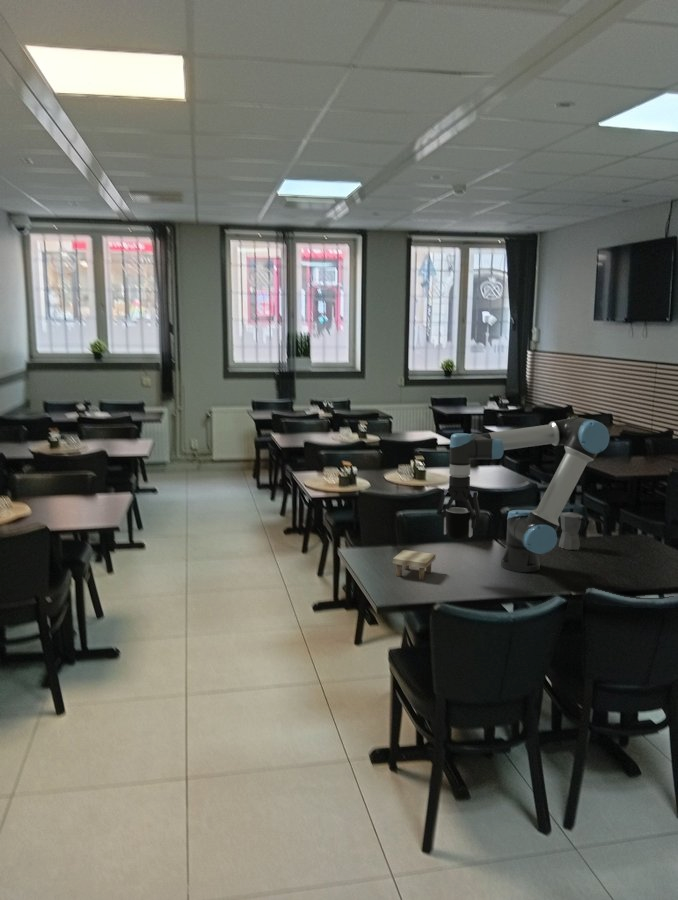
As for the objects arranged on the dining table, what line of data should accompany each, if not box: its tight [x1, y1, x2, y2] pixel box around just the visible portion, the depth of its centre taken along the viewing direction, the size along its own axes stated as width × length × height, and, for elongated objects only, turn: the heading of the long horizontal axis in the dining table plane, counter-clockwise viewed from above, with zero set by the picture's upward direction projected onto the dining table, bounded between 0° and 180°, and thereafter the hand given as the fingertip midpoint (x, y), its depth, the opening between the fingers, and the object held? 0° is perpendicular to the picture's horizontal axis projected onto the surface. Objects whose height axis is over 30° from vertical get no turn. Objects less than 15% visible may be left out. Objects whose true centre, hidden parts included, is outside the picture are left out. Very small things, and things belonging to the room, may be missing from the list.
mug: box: [446, 507, 471, 540], centre depth 263 cm, size 12×9×10 cm
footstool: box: [392, 549, 437, 581], centre depth 271 cm, size 13×13×7 cm
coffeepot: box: [558, 507, 590, 550], centre depth 309 cm, size 15×9×18 cm, turn 37°
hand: (458, 534), depth 263 cm, fingers closed on mug, 9 cm apart
